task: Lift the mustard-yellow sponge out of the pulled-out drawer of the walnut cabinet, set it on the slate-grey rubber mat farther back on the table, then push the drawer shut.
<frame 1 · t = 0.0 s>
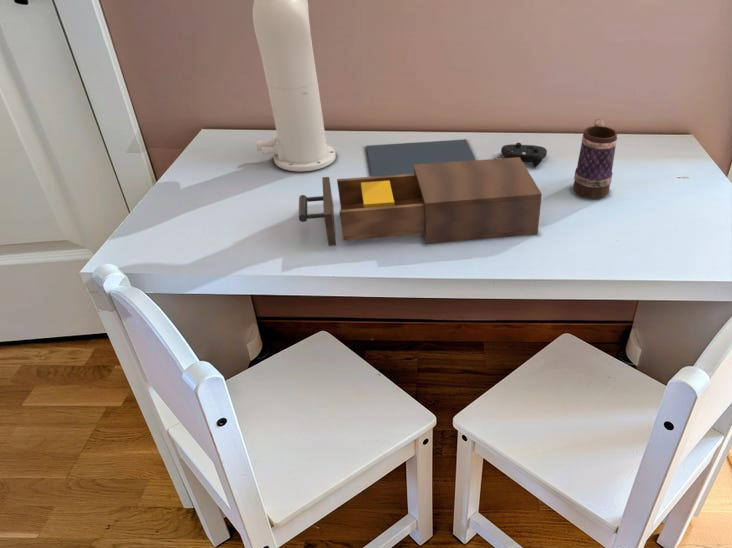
sponge: (379, 215, 106), point 2 cm above the table, touching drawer
mat: (421, 159, 128), on the table
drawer: (367, 207, 105), point 4 cm above the table, slide at 15.0 cm, touching sponge
cabinet: (474, 218, 110), on the table
game controller: (523, 161, 128), on the table
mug: (590, 188, 120), on the table
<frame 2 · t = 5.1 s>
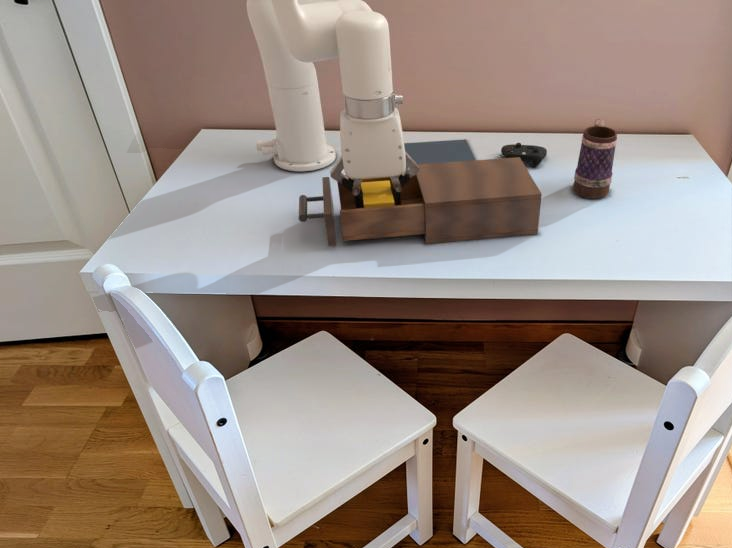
hand: (378, 210, 106), 3 cm above the table, tool pointing down, fingers closed on sponge, 5 cm apart
sponge: (379, 215, 106), point 2 cm above the table, touching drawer, gripper
everything else where it was.
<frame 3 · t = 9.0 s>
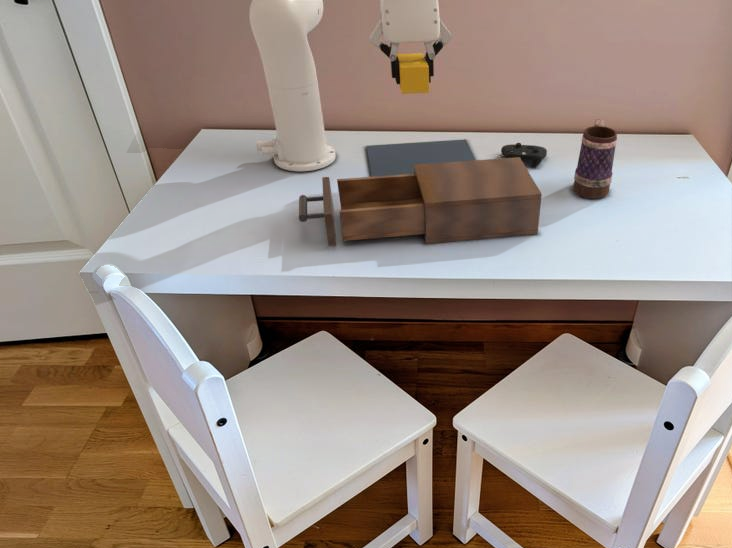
hand: (412, 80, 113), 17 cm above the table, tool pointing down, fingers closed on sponge, 5 cm apart
sponge: (413, 85, 114), point 16 cm above the table, touching gripper
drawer: (367, 207, 105), point 4 cm above the table, slide at 15.0 cm
everything else where it was.
when the fingers open (1 cm above the table, at t = 13.2 s): sponge stays where it is, resting on mat.
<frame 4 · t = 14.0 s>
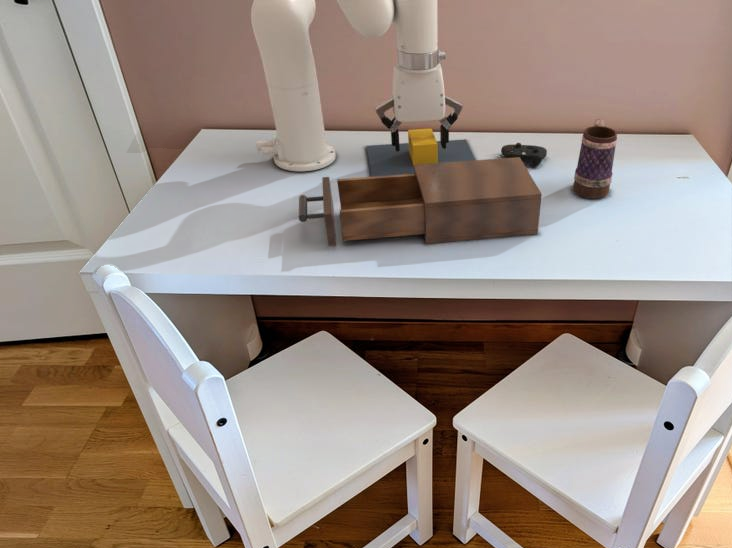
hand: (420, 147, 126), 3 cm above the table, tool pointing down, fingers open, 9 cm apart
sponge: (423, 157, 128), resting on mat
everything else where it was.
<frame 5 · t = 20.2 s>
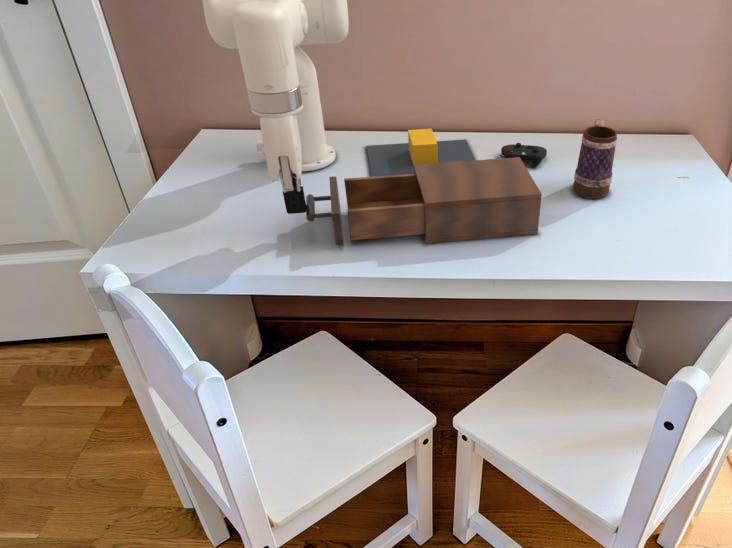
hand: (296, 210, 102), 4 cm above the table, tool pointing down, fingers closed
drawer: (374, 206, 105), point 4 cm above the table, slide at 13.8 cm
everything else where it was.
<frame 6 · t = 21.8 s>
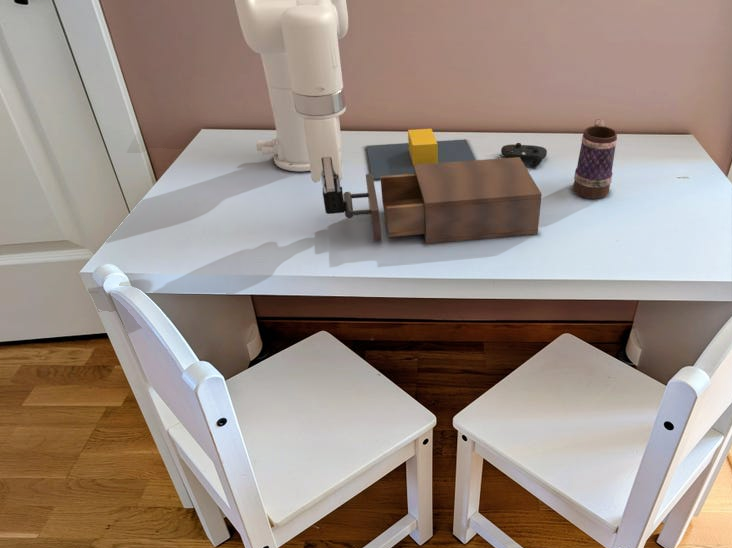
hand: (335, 210, 104), 4 cm above the table, tool pointing down, fingers closed
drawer: (410, 203, 106), point 4 cm above the table, slide at 7.4 cm, touching gripper
everything else where it was.
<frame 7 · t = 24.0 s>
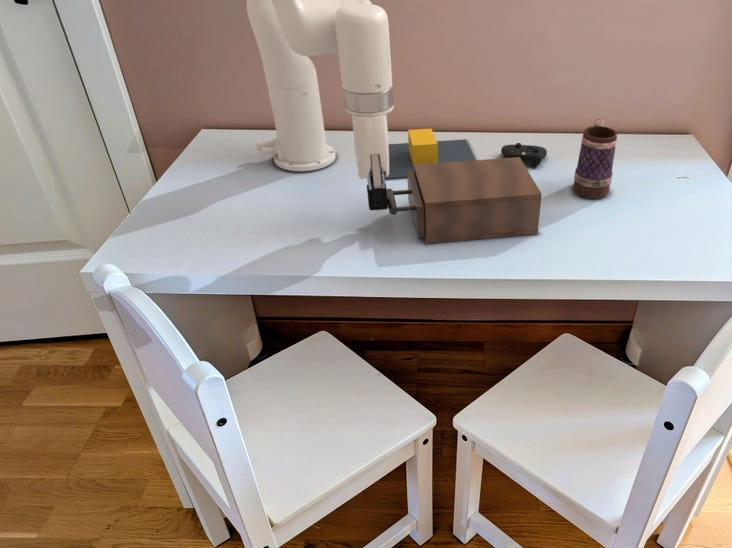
hand: (378, 207, 105), 4 cm above the table, tool pointing down, fingers closed
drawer: (452, 200, 107), point 4 cm above the table, slide at 0.1 cm, touching gripper
everything else where it was.
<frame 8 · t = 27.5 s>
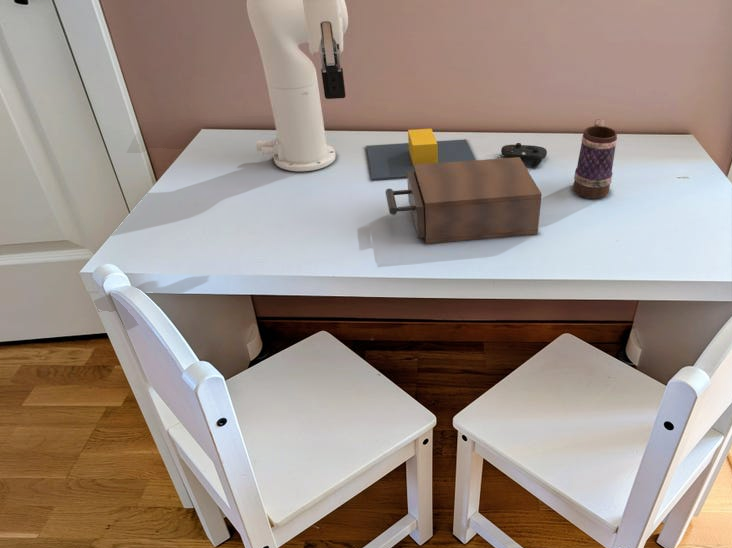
hand: (335, 96, 96), 21 cm above the table, tool pointing down, fingers closed
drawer: (452, 200, 107), point 4 cm above the table, slide at 0.1 cm
everything else where it was.
at the end: sponge inside the target area on the mat (0.3 cm from its centre), point 0.4 cm above the mat's base; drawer slide at 0.1 cm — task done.
